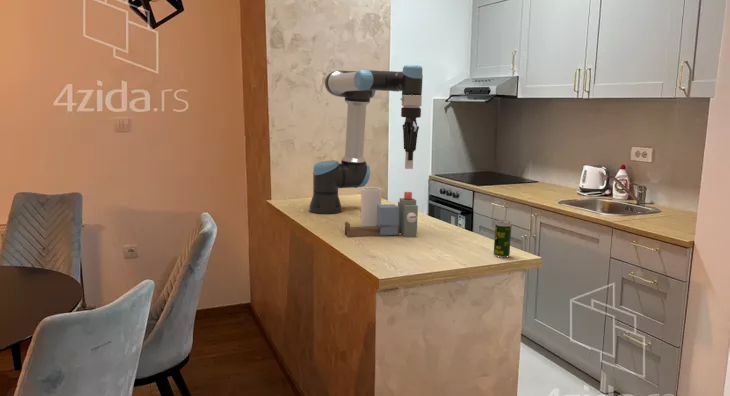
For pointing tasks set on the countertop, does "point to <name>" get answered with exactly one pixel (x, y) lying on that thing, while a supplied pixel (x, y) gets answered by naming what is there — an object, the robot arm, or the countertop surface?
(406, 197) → the plunger
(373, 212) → the cup
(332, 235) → the countertop surface
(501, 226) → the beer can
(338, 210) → the robot arm
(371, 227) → the rail
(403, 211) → the grey upright block
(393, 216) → the block
